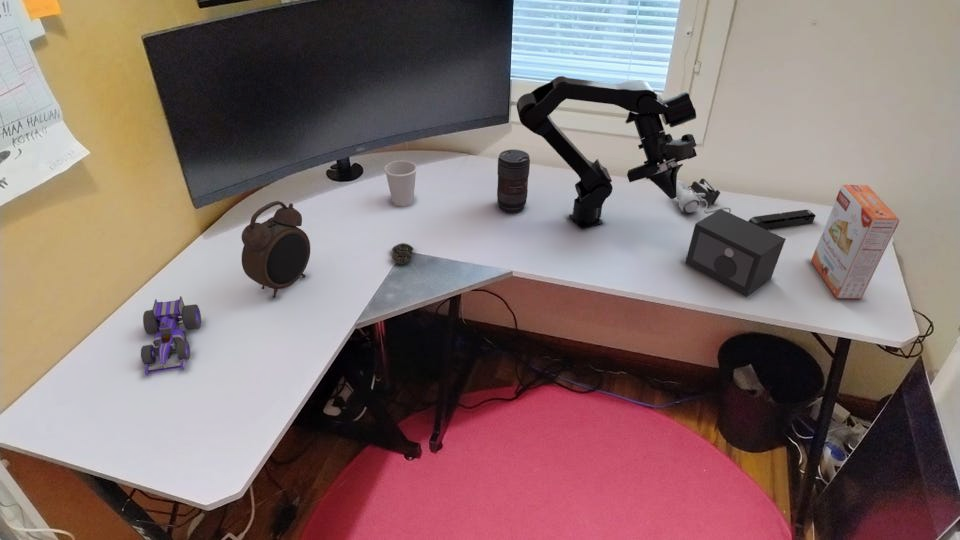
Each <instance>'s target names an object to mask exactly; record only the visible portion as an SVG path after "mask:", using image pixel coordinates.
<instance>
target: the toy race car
mask: <svg viewBox="0 0 960 540" xmlns="http://www.w3.org/2000/svg"><path fill="white" fill-rule="evenodd" d="M201 315H202V314H201V310H200V307H199V305H198V304H186V305H185V302H184V300H183V297H182V295H180V296H179V299H176V300H169V301H168V300H167V301H158V299H157V298H156V299H154V303H153V306H152V309H148V310H145V311H144V312H143V315H142V324H143V329H144V332H145V333H146V334H147V335H148V336H150V335H151V336H152V335H154V337H153V341H152V343H153V344H147V345H146V344H145V345H143V346H141V349H140V359H141V362H142V364H143V365H144V366H145V367H144V374H145V376H148V375H149V373H154V372H163V371H169V370H175V369H181V370H182V371H184V370H185V368H186V364H187V363H186V362H187V361H186V360H189V359H190V356H191V347H190V343H189V341H188V339H187V333H186V331H184V330H183V329H182V328H180V325H182V324H183V326H184V328H185V329H186V330H188V331H189V330H197V329H200V328H201V325H202V316H201ZM181 321H182V322H181ZM175 354H176V356H177V358H178V360H179V362H175V363H169V364H167V361H168V360H169V359H170V358H171V356H172V355H175ZM157 357H158V359H159V365H156V366H155V365H154V364H155V363H156V359H157ZM151 365H154V366H151Z"/></svg>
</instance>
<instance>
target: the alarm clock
mask: <svg viewBox="0 0 960 540" xmlns="http://www.w3.org/2000/svg"><path fill="white" fill-rule="evenodd" d="M275 206H280V208H278V209H276V211H275V213H274V215H273V216H271V217H270V218H268V219H267V220H265V221H263V222H257V219H258V217H259V216H260V215H262V214H263V213H264V212H265V211H267V210H269V209H271V208H272V207H275ZM302 224H303V216H302V213H300V211H298V210H297V209H295V208H294V204H293V203H291V202H290V203H288V206H287V205H286V204H285V203H284V202H282V201H280V200H275V201H271V202H269V203H267V204H265V205H263V206H262V207H260V208H259V209H257V210H256V211H255V212H254V213H253V215H252V216H251V219H250V222H249V224H248V225H246V227H244V229H243V230H242V233H241V242H242V244H243V248H242V251H241V266H242V271H243V272H244V273H245V275H246V276H247V277H248V278H249V279H251V280H253V281H254V282H255V283H257V284H259V285H261V288H260V289H261V290H265V287H266V288H269V289H271V290H273V295H272V298H273V299H275V298H277V296H276V295H277V293H278V290H283V289H287V288H289V287H290V286H292V285H293V284H295V283H296V281H298V280H299V279H300V278H301V277H302V278H306V274H304V272H305V270H306V268H307V266H308V263H309V262H310V257H311V243H310V238H309V236H308V234H307V233H306V232H305V231H304V230H303V229H302V228H300V227H301V226H302Z"/></svg>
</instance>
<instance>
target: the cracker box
mask: <svg viewBox="0 0 960 540" xmlns="http://www.w3.org/2000/svg"><path fill="white" fill-rule="evenodd" d="M839 188H840V189H839V191H838V193H837V196H836V198H835V201H834V203H833V206H832V208H831V211H830V213H829V216H828V218H827V221H826V223H825V225H824V228H823V229H822V233H821V235H820V237H819V240H818V242H817V245H816V247H815V249H814V252H813V255H812V257H811V259H810V262H811V263H812V265H813V266H814V268H815V269H816V271H817V272H818V274H819V275H820V277H821V278H822V280H823V281H824V283H825V284H826V286H827V288H828V289H829V290H830V292H831V293H832V295H833V296H834V298H835V299H843V300H844V299H850V300H852V299H853V300H861V299H863V296H864V294H865V292H866V290H867V288H868V286H869V284H870V282H871V280H872V278H873V276H874V274H875V272H876V269H877V268H878V266H879V264H880V262H881V260H882V257H883V255H884V253H885V251H886V250H887V248H888V245H889V243H890V242H891V239H892V238H893V235H894V233H895V231H896V229H897V228H898V225H899V223H900V221H901V219H900V218H899V217H898V216H897V214H896V213H895V212H894V211H892V209H891V208H890V207H889V206H888V205H887V204H886V203H885V202H884V201H883V200H882V198H880V197H879V196H878V195H877V194H876V193H875V191H874V190H873V189H871V187H870V186H869V185H868V184H841V186H840V187H839Z"/></svg>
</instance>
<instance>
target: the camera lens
mask: <svg viewBox="0 0 960 540" xmlns="http://www.w3.org/2000/svg"><path fill="white" fill-rule="evenodd" d="M530 167H531V159H530V154H529V153H528V152H527V151H525V150H521V149H506V150H503V151H500V153H499V155H498V158H497V188H496V201H497V203H498V208H499V210H501V212H503V213H506V214H518V213H520V212H523V210H524V209H525V205H526V203H527V199H528V192H529V190H528V188H529V187H528V186H529V175H530Z"/></svg>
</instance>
